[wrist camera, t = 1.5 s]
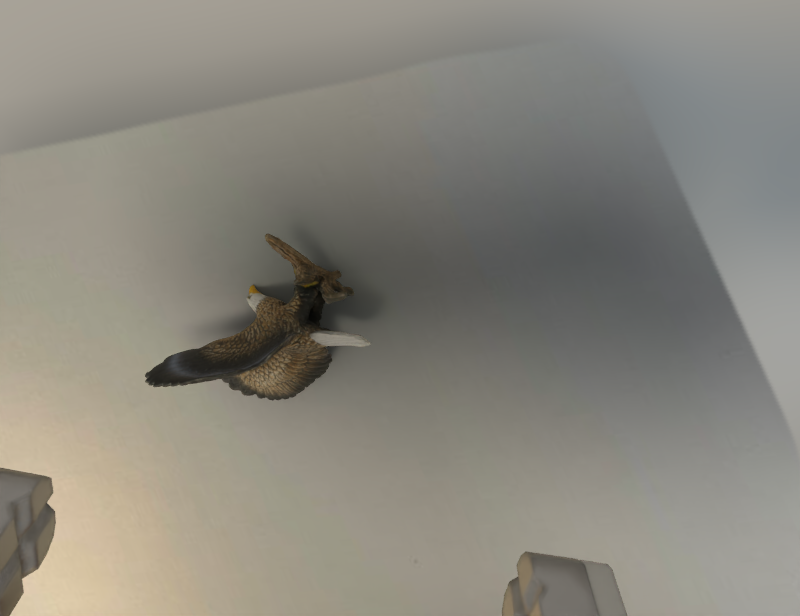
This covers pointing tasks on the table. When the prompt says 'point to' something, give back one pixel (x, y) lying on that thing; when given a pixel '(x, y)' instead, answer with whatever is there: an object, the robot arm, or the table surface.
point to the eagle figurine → (270, 339)
